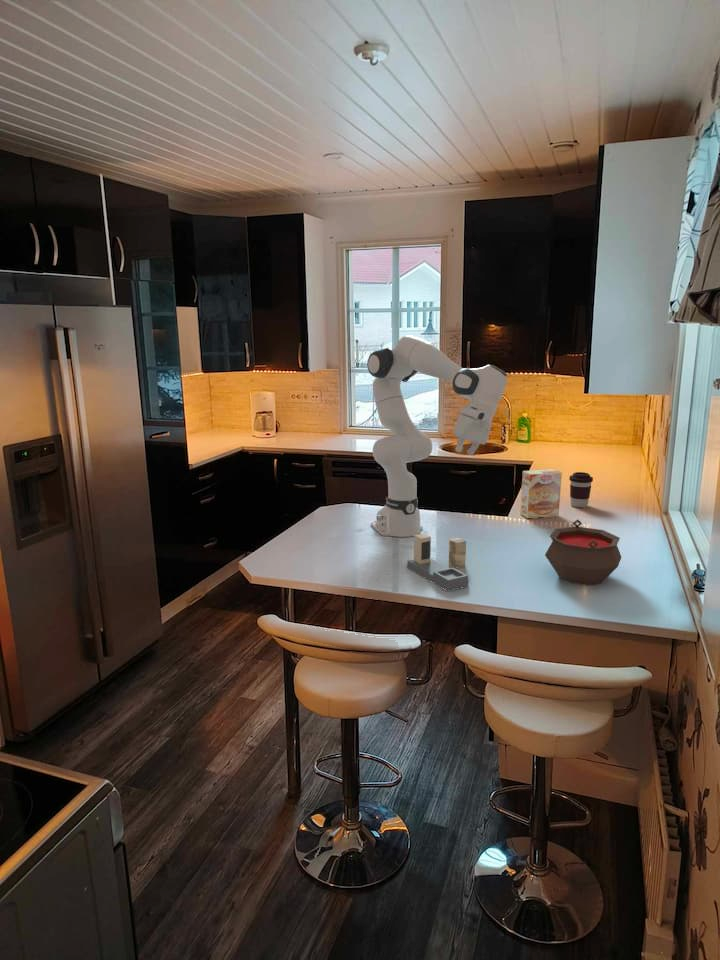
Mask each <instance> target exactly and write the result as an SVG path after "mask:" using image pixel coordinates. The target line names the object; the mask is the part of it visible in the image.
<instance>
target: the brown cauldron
mask: <svg viewBox="0 0 720 960" xmlns="http://www.w3.org/2000/svg"><path fill="white" fill-rule="evenodd" d="M577 523H578V524H577ZM572 524H573V526H570V527H569V526H567V527H559V528H554V529H553V531H551V534H550V535H549V537H550V539H551V540H552V541H551V543H550V545H549V547H548V549H547V550H546V552H545V554H544V556H545V557H546V559H547V560H548V562H549V563H550V565H551V567H552V568H553V570H554V571H555V573H556V574H557V576H558V577H559V578H561V579H562V580H564V581H566V582H568V583H570V584H575V585H576V584H577V585H581V586H593V585H599V584H603V582H604V581H605V580H606V579H607V578H608V577H610V576H611V574H612V573H613V572H614V571H615V570H616V569H617V568H618V566H620V562H621V560H622V555H621V552H620V550H619V546H618V543H619V541H620V539H621V537H619V536H617V535H615V534H612V533H610V532H608V531H606V530H604V529H597V528H590V527H583V526H581V525H582V524H583V523H582V522H581V521H580V520H579V519H576V520H575V521H574V522H572Z"/></svg>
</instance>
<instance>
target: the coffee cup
mask: <svg viewBox="0 0 720 960" xmlns="http://www.w3.org/2000/svg"><path fill="white" fill-rule="evenodd" d="M568 480H569V481H570V485H569V496H570V506H571V507H573V506H574V507H573V508H576V507H585V508H588V507H589V506H588V504H589V501H590V495H591V489H592V482H593V481H594V478H593V477H592V476H591V475H590V473H588V472H582V471H576V472H573V474H571V475H570V476H569V479H568Z"/></svg>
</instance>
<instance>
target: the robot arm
mask: <svg viewBox="0 0 720 960" xmlns="http://www.w3.org/2000/svg"><path fill="white" fill-rule="evenodd" d="M366 363H367V364H366V365H367V370H368V372H369V374H370V375H371V376H372V377H374V380H373V382H372V393H373V399H374V402H375V407H376V411H377V414H378V419H379V421H380V423H381V425H382V426H383V427H384V428H386V429H388V430H389V431H391V432H392V434H393V435H389V436H385V437H382V438H379V439H377V440H375V442H374V443H373V446H372V456H373V459H374V460H375V461H376V463H377V464H378V465H380V466H381V467H382V468H383V469H384V472H385V473H386V478H387V485H388V487H387V488H388V493H387V494H388V496H387V497H385V500H386V502H385V504H384V506H383V507H382V508H381V509H379V510H378V511H377V514H376V520H374V521H371V523H370V527H372V528H373V529H374V530H376V531H377V532H378V533H379V534H380V535H381V536H384V537H385V536H386V537H387V536H388V537H397V538H399V537H400V538H407V537H408V538H409V537H414V535H418V534H421V530H423V525H421V514H420V509H419V508H418V503H419V500H418V497H417V495H418V494H417V491H418V490H417V487H418V485H417V484H418V481H417V477H416V476H415V475H414V474H413V473H412V472H410V471H408V469H407V463H414V462H419V461H421V460H424V459H426V458H428V457H430V456H431V454H432V451H433V442H432V440H431V438H430V437H429V436H428V434H427V433H424V432H422V431H421V430H420V429H419V428H418V427H417V426H416V425H415V423H414V421H413V420H412V419H411V417H410V415H409V412H408V409H407V407H406V403H405V400H404V397H403V393H402V389H401V383H402V382H403V383H407V382H408V381H409V380H410V379H411V378H413V377H414V376H415V375H416V374H417V373H419V374H423V375H426V376H428V377H433V378H436V379H437V378H438V379H440V380H444V381H447V382H450V383H452V390H453V391H454V392H455V394H457V395H458V396H460V397H462V398H464V399H466V400H469V401H470V403H468V404H467V405H463V406H461V407H460V411H459V413H460V414H459V416H458V417H457V420H456V422H455V425H454V429H453V436H455V437H457V439H456V447H455V448H454V449H455V450H454V451H456V452H458V453H462V452H463V449H464V447H463V446H464V443H465V441H470V442H471V446H470V448H468V449H467V451H466V453H467V454H468V455H469V456H473V455H474V453H475V452H476V451H477V450H478V448H479V446H480V445H486V444H487V442H488V439H489V435H490V433H491V430H492V421H493V418H494V416H495V414H496V412H497V410H498V409H497V407H498V404H499V402H500V400H501V399H502V397H503V394H504V392H505V389H506V386H507V383H508V374H507V373H506V371H504V370H503V369H501V368H499V367H497V366H496V365H492V364H487V365H485V366H482V367H477V368H466V367H465V368H463V367H462V366H460V365H459V364H457V363H455V362H454V361H453V360H452V359H451V358H449V356H447V355H446V354H444V352H442V351H441V350H440V349H439V348H438V347H436V346H434V345H433V344H432V343H431V342H429V341H426V340H425V339H423V338H421V337H417V336H415V335H414V336H413V335H404V336H402V337H401V338H400V339H399V340H398V341H397V342H396V346H395V348H392V349H390V348H388V347H386V348H381V349H378V350H375V351H372V352H371V353H370V354H369V356H368V358H367V362H366Z"/></svg>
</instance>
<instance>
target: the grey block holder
mask: <svg viewBox="0 0 720 960" xmlns="http://www.w3.org/2000/svg"><path fill="white" fill-rule="evenodd" d="M431 539H432V537H431V535H428V534H426V533H424V532H423V533H419V534H417V535H414V536H413V559H408V560H406V568H407V569H408V570H411V571H412V572H413V573H415V572H416V574H417V575H419V576H420V575H421V576H420V577H422V576H423V577H422V578H424V577H425V578H426V580H427V579H428V580H427V581H429V580H430V581H432V582H434V583H435V584H434V583H433V584H434V585H436V584H437V585H439V586H440V587H439V586H438V587H439V588H441V587H442V588H444V589H446V590H447V591H448V590H452V591H454V590H453V589H456V590H458V589H457V588H460V589H462V588H461V587H464V588H467V587H466V586H468V587H469V575H468V574H466V573H465V572H462V571H460V570H458V568H454V567H452V566H451V567H448V566H445V565H443V564H441V563H440V562H438V561H436V560H434V559H432V558H431V551H432V550H431V549H432V543H431V542H432V540H431ZM425 578H424V579H425ZM430 581H429V582H430ZM432 582H431V583H432ZM437 585H436V586H437ZM442 588H441V589H442ZM444 589H443V590H444ZM446 590H445V591H446ZM447 591H446V592H447ZM448 592H449V591H448Z"/></svg>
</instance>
